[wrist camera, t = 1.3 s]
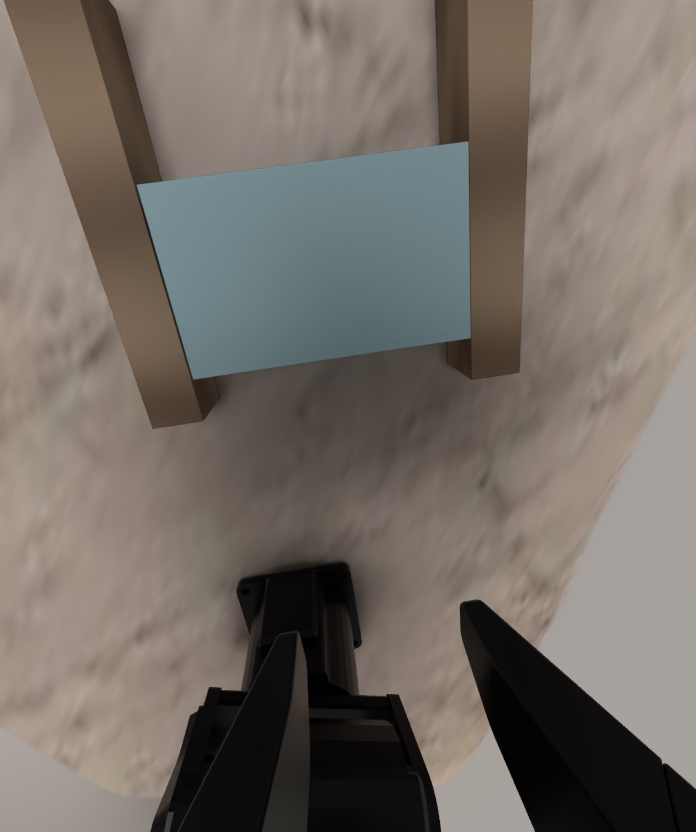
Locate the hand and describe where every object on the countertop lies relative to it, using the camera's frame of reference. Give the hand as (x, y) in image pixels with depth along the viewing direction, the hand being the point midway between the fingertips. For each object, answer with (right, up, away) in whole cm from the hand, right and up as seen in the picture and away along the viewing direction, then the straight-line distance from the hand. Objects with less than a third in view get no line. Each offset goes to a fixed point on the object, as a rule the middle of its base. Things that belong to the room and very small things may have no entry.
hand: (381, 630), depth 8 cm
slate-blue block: (-2, +11, +8) cm, 14 cm away
